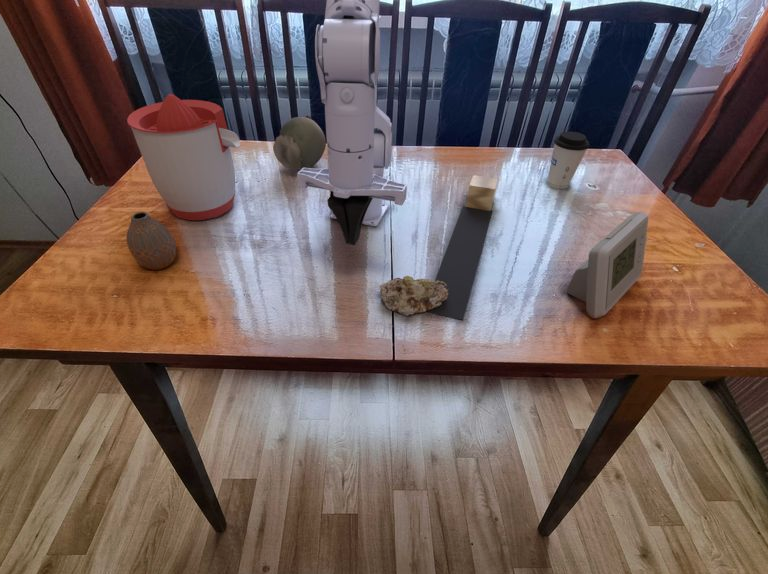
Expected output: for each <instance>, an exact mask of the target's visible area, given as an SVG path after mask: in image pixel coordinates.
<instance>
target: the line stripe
mask: <svg viewBox="0 0 768 574" xmlns="http://www.w3.org/2000/svg"><path fill="white" fill-rule="evenodd" d="M493 211H494V210H493V209H490V211H487V210H481V209H475V208H469V207H465V205H464V204H463V205H462V207H461V210H460V212H459V215H458V218H457V221H456V223H455V226H454V228H453V231H452V234H451V236H450V239H449V241H448V244H447V247H446V249H445V252H444V255H443V257H442V260H441V263H440V266H439V268H438V271H437V274H436V277H435V279H434V281H436V280H439V281H441V282H444V283H445V284H446V285H447V288H449V290H448V295H447V299H446V300H444V301H442V304H441V305H440V306H439V307H436V308H435V307H434V308H433V309H430V310H427V311H425V312H424V313H430V314H435V315H438V316H443V317H447V318H451V319H456V320H460V321H464V317H465V314H466V310H467V306H468V303H469V299H470V296H471V292H472V288H473V285H474V280H475V278H476V274H477V270H478V267H479V263H480V259H481V255H482V252H483V248H484V244H485V240H486V237H487V233H488V230H489V226H490V223H491V218H492V215H493Z"/></svg>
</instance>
